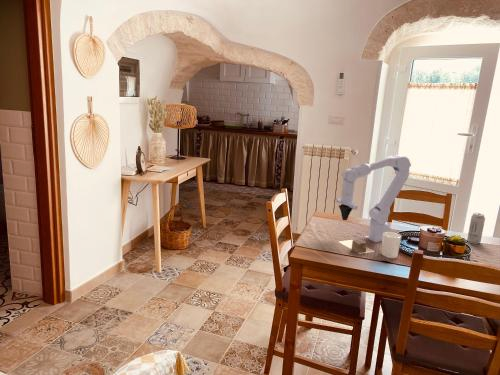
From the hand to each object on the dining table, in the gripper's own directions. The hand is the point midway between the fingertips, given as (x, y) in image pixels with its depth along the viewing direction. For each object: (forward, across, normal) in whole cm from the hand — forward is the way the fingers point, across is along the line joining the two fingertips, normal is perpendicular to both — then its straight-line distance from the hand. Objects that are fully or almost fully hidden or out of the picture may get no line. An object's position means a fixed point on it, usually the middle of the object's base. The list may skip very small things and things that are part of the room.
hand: (344, 219), depth 190 cm
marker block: (+10, +17, -4) cm, 20 cm away
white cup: (+10, +25, +7) cm, 28 cm away
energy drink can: (+10, +25, +64) cm, 69 cm away
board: (+10, +12, -2) cm, 16 cm away
